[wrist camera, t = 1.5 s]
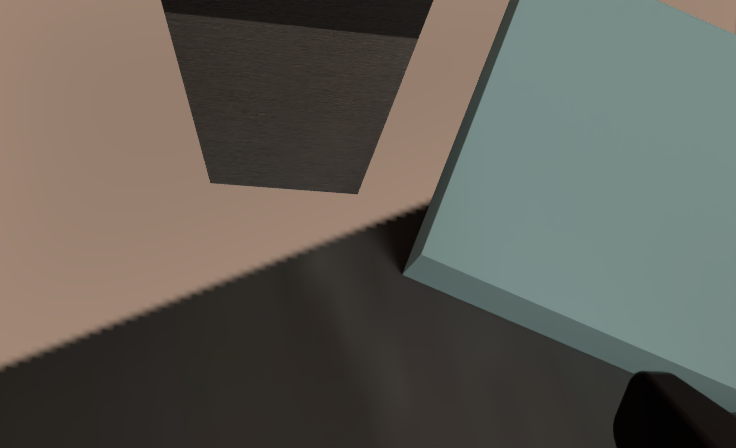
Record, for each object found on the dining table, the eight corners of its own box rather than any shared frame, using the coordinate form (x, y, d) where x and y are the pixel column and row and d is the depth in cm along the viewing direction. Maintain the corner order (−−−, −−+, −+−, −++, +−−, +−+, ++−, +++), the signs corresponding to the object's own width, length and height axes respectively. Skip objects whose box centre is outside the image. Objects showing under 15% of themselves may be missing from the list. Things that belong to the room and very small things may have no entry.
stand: (724, 412, 23) (790, 412, 20) (402, 274, 22) (421, 254, 19) (786, 120, 26) (849, 84, 23) (510, -1, 26) (539, -52, 23)
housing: (357, 194, 23) (442, -24, 11) (210, 183, 22) (145, -59, 11) (362, 65, 24) (442, -243, 13) (224, 51, 24) (179, -285, 12)
